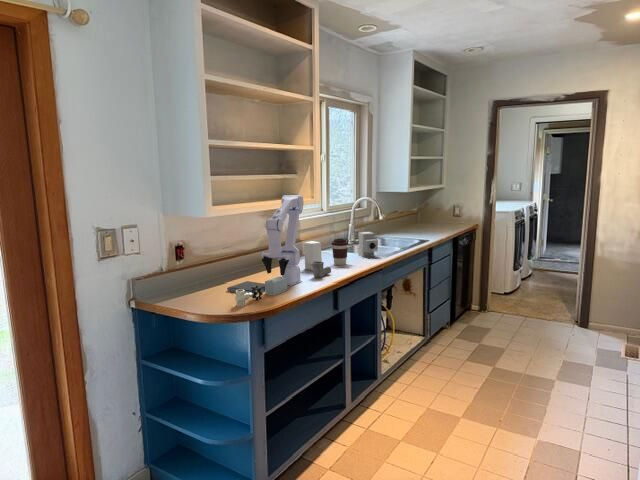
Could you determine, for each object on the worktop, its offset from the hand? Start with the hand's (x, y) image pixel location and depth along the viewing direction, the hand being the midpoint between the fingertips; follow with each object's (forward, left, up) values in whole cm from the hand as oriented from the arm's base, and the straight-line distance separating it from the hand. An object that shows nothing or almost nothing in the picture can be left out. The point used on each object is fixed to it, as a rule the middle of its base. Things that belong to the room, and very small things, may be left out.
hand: (275, 274), depth 203 cm
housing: (0, 0, -9) cm, 9 cm away
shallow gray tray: (+3, -14, -8) cm, 16 cm away
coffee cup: (-68, -4, -9) cm, 69 cm away
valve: (+20, 0, -9) cm, 22 cm away
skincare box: (-49, -11, -9) cm, 51 cm away
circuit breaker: (-98, 0, -9) cm, 98 cm away
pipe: (-36, +2, -9) cm, 37 cm away
